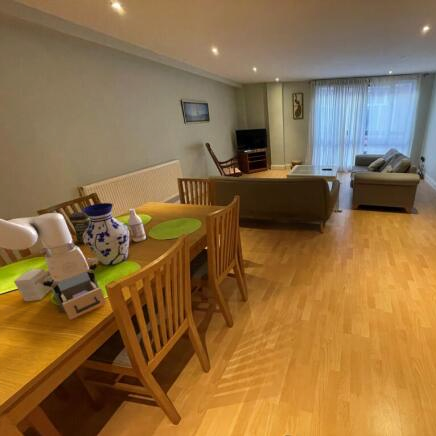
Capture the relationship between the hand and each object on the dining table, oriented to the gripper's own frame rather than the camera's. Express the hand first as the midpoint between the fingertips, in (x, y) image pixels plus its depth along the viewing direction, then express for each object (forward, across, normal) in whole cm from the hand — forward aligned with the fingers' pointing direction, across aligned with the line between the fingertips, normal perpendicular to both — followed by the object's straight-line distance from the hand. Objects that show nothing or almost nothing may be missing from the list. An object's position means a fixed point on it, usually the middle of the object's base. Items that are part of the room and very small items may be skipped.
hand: (76, 287), depth 91 cm
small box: (+10, -10, +26) cm, 29 cm away
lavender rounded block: (+8, 0, 0) cm, 8 cm away
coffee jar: (+10, +18, +70) cm, 74 cm away
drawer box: (+10, 0, +12) cm, 15 cm away
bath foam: (+10, +38, +46) cm, 61 cm away
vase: (+10, +20, +32) cm, 39 cm away
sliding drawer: (+9, 0, 0) cm, 9 cm away
